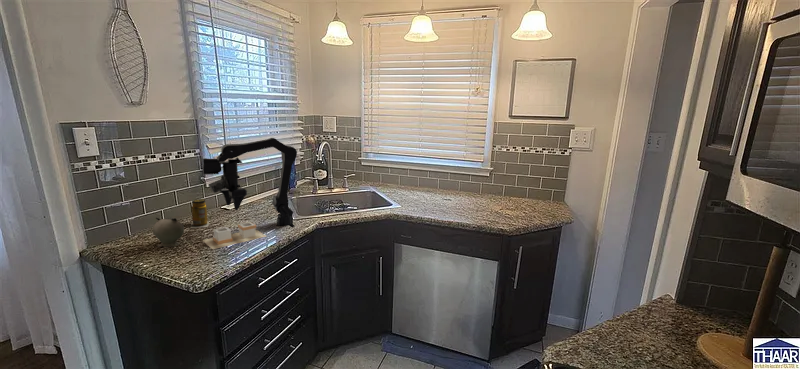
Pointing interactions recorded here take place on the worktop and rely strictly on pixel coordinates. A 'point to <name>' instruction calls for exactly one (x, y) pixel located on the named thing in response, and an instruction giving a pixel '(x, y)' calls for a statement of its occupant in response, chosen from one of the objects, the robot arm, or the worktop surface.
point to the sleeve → (222, 235)
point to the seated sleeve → (247, 230)
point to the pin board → (236, 239)
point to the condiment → (199, 214)
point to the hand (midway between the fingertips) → (232, 207)
